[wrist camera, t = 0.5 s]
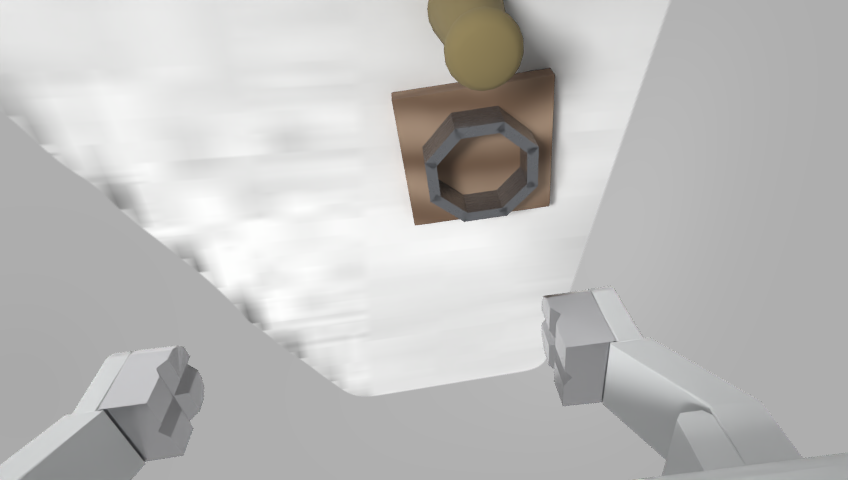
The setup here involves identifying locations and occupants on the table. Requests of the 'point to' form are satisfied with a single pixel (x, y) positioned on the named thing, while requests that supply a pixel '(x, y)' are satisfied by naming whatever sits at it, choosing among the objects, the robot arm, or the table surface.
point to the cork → (477, 41)
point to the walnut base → (475, 139)
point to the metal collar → (488, 201)
